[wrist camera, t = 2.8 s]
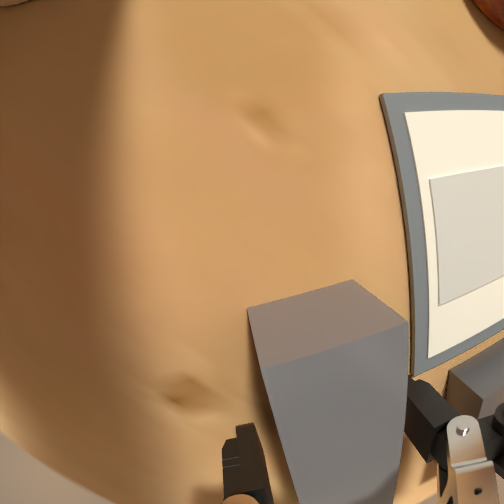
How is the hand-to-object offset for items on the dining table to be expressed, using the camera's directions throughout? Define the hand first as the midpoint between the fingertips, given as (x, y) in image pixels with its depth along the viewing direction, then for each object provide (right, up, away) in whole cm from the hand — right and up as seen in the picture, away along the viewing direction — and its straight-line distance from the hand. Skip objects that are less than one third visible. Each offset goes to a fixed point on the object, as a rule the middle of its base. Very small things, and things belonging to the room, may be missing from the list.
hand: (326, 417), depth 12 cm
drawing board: (+11, +9, 0) cm, 14 cm away
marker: (0, -1, +1) cm, 1 cm away
